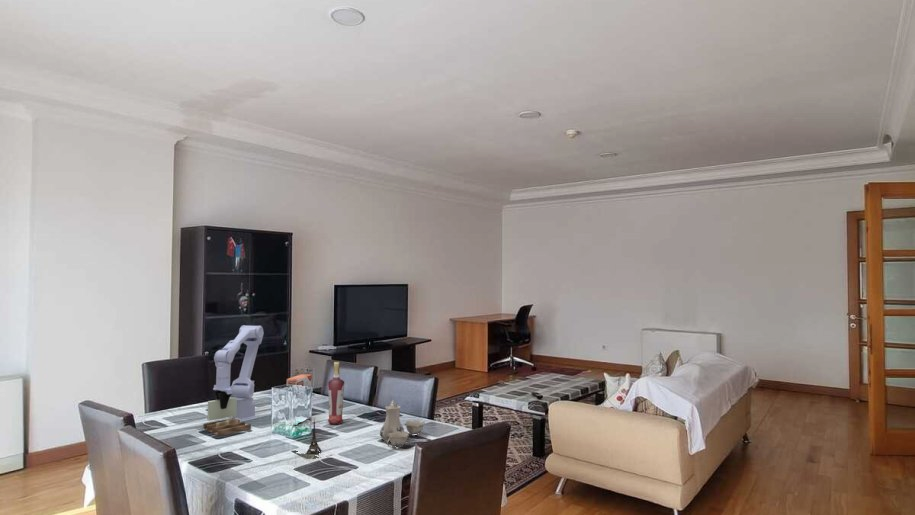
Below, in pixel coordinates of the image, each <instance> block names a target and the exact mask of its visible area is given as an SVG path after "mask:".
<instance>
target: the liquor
mask: <svg viewBox="0 0 915 515" xmlns="http://www.w3.org/2000/svg"><path fill="white" fill-rule="evenodd" d="M340 366H341V362H340V361H334V362H333V368H334V370H333V375H332V376H333V377H332V378H331V379H330V380H329V381H328V382H327V384H328V385H327V386H328V393H327V395H328V419H327V422H328V423H329V424H330V425H334V424H336V425H340V424H341V423H342V422H343V421H344V419H343V406H344V405H343V404H344V393H345V381H344V379H341V378H340V377H341V376H340ZM339 423H340V424H339Z"/></svg>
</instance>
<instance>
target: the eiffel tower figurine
mask: <svg viewBox="0 0 915 515" xmlns="http://www.w3.org/2000/svg"><path fill="white" fill-rule="evenodd" d="M315 420H316V419H314V421H313V429H312V436H311V437H312V438H311V442H310V445H309V446H308V449H307V451H306V452H304V453H305V454H304V453H301V454H299V455H298V456H301V457H302V458H304V459H306V460H317V459H320V458H319V457H317V456H315V455H318V456H320V455H319V453H320V454H322V452H323V450H322V449H321V447H320V446H319V443H317V436H316V421H315ZM296 450H297V449H296ZM296 450H291V452H292V453H294V454H296V452H298V451H296ZM319 451H320V452H319ZM321 451H322V452H321ZM316 458H317V459H316Z"/></svg>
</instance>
